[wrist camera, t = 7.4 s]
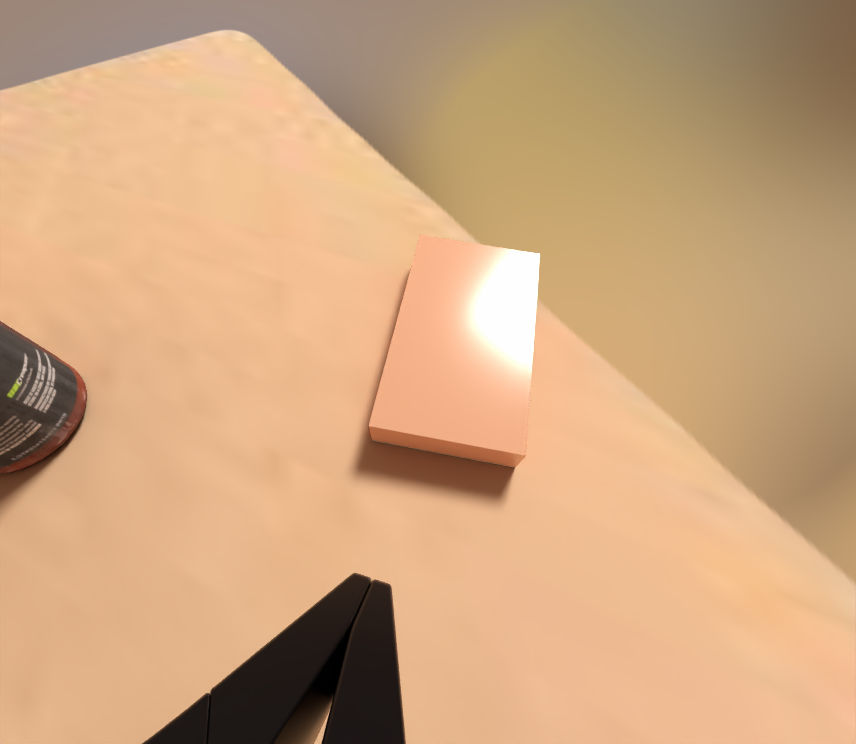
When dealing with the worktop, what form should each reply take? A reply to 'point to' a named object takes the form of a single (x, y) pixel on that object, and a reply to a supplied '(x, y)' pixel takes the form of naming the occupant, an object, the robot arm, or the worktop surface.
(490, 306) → the tile
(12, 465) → the supplement bottle
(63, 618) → the worktop surface
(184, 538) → the worktop surface
